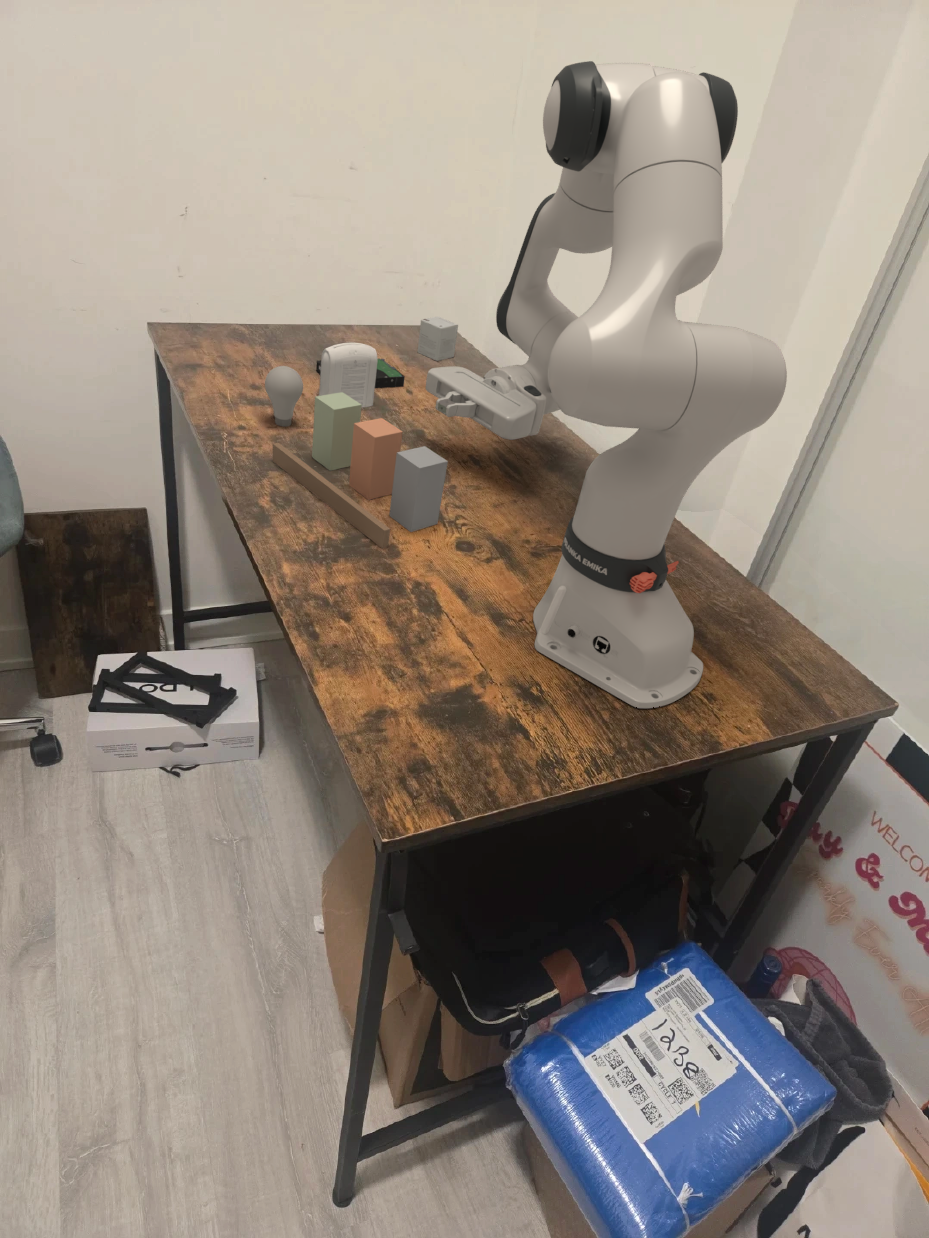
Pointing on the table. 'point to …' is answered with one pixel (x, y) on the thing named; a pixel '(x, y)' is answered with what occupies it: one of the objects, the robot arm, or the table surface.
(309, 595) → the table surface
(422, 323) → the skincare box
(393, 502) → the blue-grey block
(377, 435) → the terracotta rectangular block
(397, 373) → the disk drive
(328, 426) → the sage green block
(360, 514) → the cream board with rail
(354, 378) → the photo printer
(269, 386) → the lightbulb
